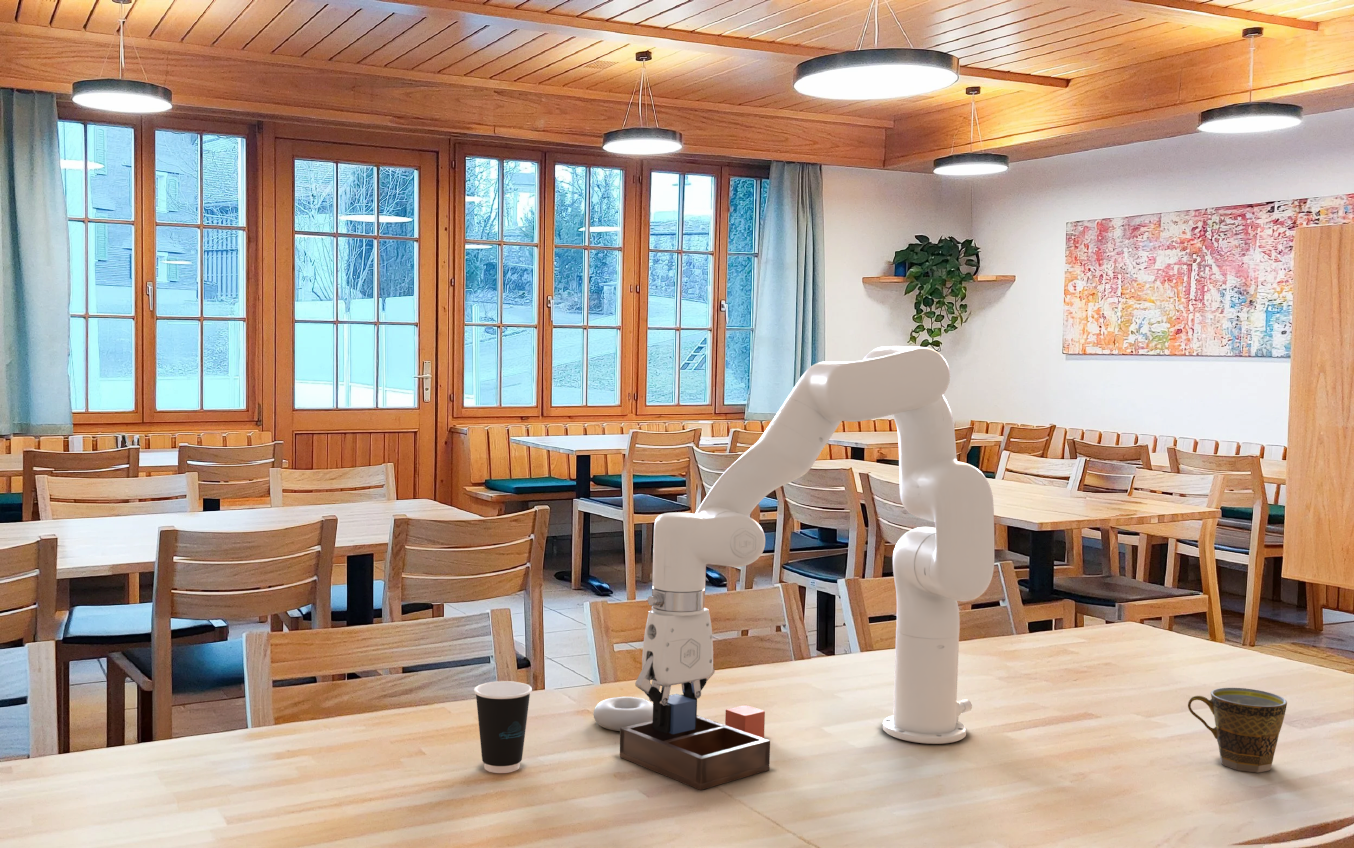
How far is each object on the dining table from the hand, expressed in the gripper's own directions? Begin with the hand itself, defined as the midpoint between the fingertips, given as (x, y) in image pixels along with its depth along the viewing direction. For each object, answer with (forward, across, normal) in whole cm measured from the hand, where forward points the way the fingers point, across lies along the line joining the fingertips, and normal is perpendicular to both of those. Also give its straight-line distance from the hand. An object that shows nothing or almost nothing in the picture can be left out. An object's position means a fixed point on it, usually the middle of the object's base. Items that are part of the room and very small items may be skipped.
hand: (674, 726), depth 177 cm
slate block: (0, 0, 0) cm, 0 cm away
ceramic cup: (+4, +62, -52) cm, 81 cm away
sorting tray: (+4, 0, -4) cm, 6 cm away
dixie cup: (+5, -22, +11) cm, 25 cm away
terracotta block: (+4, +14, 0) cm, 15 cm away
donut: (+5, +4, +16) cm, 17 cm away
